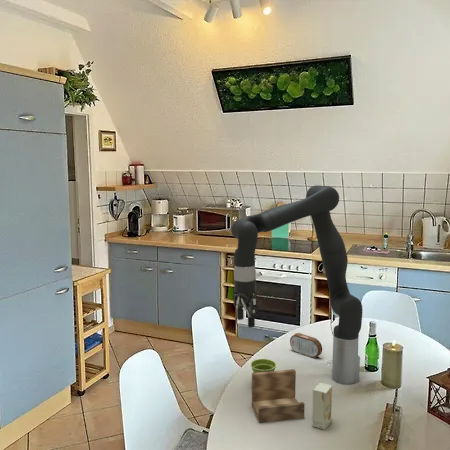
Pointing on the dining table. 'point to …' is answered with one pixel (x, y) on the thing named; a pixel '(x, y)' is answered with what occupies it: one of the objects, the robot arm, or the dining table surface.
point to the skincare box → (322, 405)
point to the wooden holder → (275, 396)
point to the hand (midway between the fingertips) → (245, 323)
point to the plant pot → (263, 365)
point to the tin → (306, 345)
